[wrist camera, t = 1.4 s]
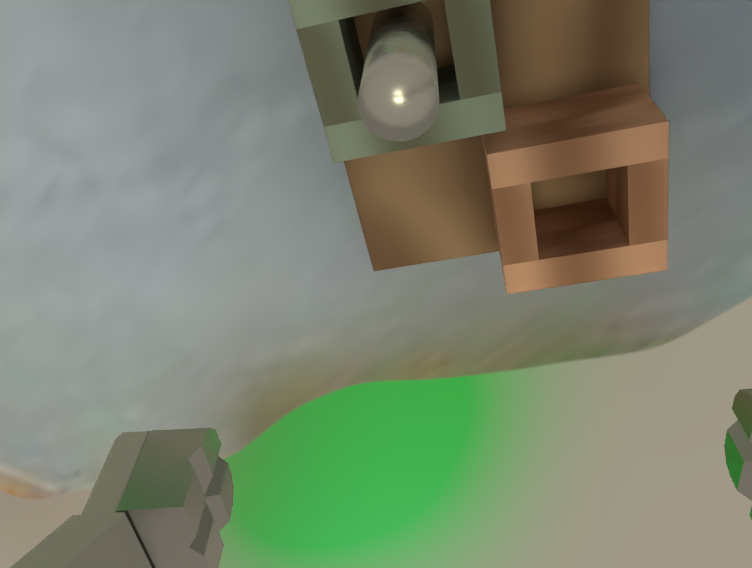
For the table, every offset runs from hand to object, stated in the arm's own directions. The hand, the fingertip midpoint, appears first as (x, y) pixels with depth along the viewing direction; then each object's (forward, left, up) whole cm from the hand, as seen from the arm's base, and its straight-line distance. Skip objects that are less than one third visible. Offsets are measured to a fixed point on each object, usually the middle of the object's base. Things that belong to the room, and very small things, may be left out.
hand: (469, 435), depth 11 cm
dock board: (-2, +5, -29) cm, 29 cm away
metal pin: (+2, +1, -27) cm, 27 cm away
